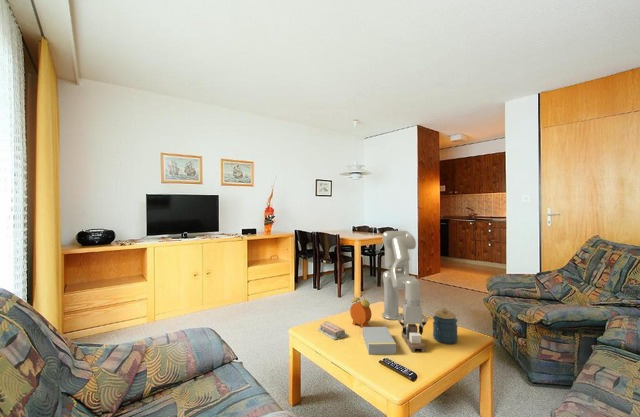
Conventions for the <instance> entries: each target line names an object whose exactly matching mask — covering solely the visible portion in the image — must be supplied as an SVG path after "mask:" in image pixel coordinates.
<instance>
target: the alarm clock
mask: <svg viewBox="0 0 640 417" xmlns="http://www.w3.org/2000/svg"><path fill="white" fill-rule="evenodd" d="M357 295H362V296H363V294H361V293H359V292H357ZM351 303H352V304H351V306H350V310H349V314H350V317H351V319H352V323H351V324H352V325H353V326H356V325H359V326H360V328H361V329H363V327H370V323H369V321H371V319H372V310H371V307H370V302H369V301H368V300H367V299H365V298H363V299H362V300H361V298H360V297H358V296H354V298H353V299H352V300H351Z"/></svg>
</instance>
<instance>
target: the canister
mask: <svg viewBox="0 0 640 417" xmlns="http://www.w3.org/2000/svg"><path fill="white" fill-rule="evenodd" d="M456 317H457V315H456V313H453V311H451V310H448V309H447V308H446V307H444V308H442V309H438V310H436V311H434V315H433V316H432V319H433V322H432V324H433V325H432V327H433V329H432V330H433V332H432V337H433V339H434V340H435V341H436V342H438V343H440V344H444V343H445V344H444V345H453V344H452V343H454V344H457V343H458V339H459V337H458V319H457V318H456Z"/></svg>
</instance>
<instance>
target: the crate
mask: <svg viewBox="0 0 640 417" xmlns="http://www.w3.org/2000/svg"><path fill="white" fill-rule="evenodd" d="M409 340H410V342H411V343H421V341H422V335H421V334H420V333H419V331H418V332H417V333H409Z"/></svg>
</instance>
